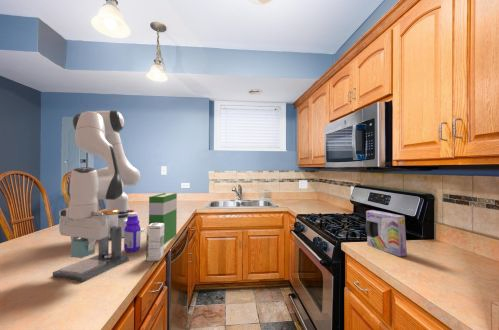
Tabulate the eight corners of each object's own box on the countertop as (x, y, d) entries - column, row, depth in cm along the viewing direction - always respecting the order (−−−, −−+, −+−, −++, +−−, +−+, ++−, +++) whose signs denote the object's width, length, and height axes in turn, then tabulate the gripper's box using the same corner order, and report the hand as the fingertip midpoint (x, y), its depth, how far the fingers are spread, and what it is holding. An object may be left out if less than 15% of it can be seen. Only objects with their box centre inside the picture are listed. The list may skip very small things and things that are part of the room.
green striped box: (163, 234, 135) (164, 193, 136) (176, 235, 135) (176, 193, 135) (148, 244, 118) (149, 196, 118) (163, 245, 117) (163, 196, 118)
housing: (84, 251, 89) (84, 233, 90) (94, 253, 88) (94, 234, 88) (71, 256, 85) (71, 237, 85) (81, 258, 83) (81, 238, 83)
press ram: (110, 237, 101) (111, 208, 101) (122, 238, 99) (122, 209, 99) (97, 241, 95) (97, 211, 95) (109, 243, 93) (109, 212, 93)
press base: (103, 256, 102) (103, 224, 102) (129, 260, 98) (129, 226, 98) (52, 276, 83) (53, 236, 83) (81, 282, 79) (82, 240, 79)
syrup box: (150, 256, 102) (150, 222, 103) (164, 255, 103) (164, 222, 103) (145, 261, 97) (145, 226, 97) (160, 260, 97) (160, 225, 97)
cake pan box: (364, 244, 120) (364, 209, 120) (372, 243, 121) (372, 209, 121) (398, 257, 101) (398, 216, 102) (407, 256, 103) (407, 216, 103)
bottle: (142, 249, 111) (143, 212, 111) (132, 253, 106) (132, 214, 106) (132, 247, 114) (132, 211, 114) (121, 251, 109) (121, 213, 109)
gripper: (113, 211, 86) (112, 249, 86) (73, 208, 93) (72, 243, 92) (97, 214, 80) (96, 255, 80) (55, 211, 87) (54, 248, 86)
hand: (83, 249), depth 86 cm, fingers closed on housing, 5 cm apart
